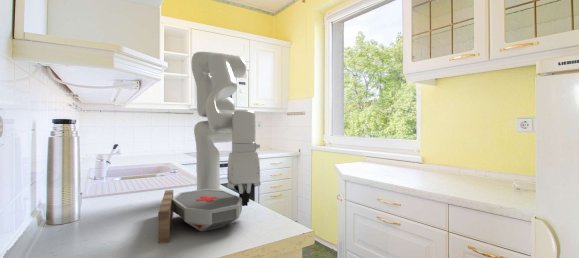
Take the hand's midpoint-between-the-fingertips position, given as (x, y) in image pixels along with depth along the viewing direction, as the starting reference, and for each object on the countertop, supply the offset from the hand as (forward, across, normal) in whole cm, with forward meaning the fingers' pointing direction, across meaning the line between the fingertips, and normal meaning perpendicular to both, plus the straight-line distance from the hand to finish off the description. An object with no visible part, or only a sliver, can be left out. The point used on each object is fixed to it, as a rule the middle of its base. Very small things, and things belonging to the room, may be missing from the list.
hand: (244, 204), depth 94 cm
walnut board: (+4, +23, 0) cm, 24 cm away
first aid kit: (+4, +12, 0) cm, 12 cm away
